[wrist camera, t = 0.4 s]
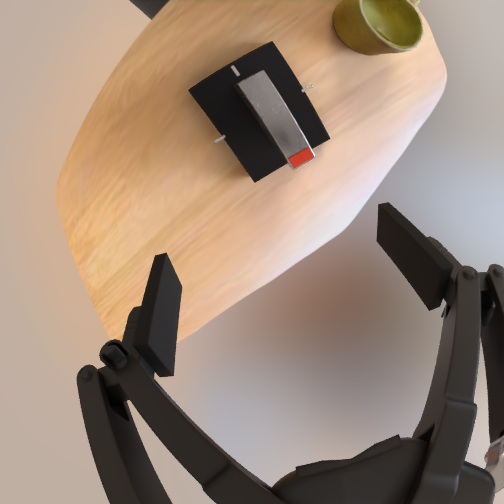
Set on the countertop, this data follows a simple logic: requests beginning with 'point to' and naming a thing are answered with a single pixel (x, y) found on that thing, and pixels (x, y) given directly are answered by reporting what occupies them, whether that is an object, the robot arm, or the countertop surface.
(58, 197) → the countertop surface
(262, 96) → the tap handle
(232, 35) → the countertop surface
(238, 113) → the base
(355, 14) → the mug
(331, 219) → the countertop surface
